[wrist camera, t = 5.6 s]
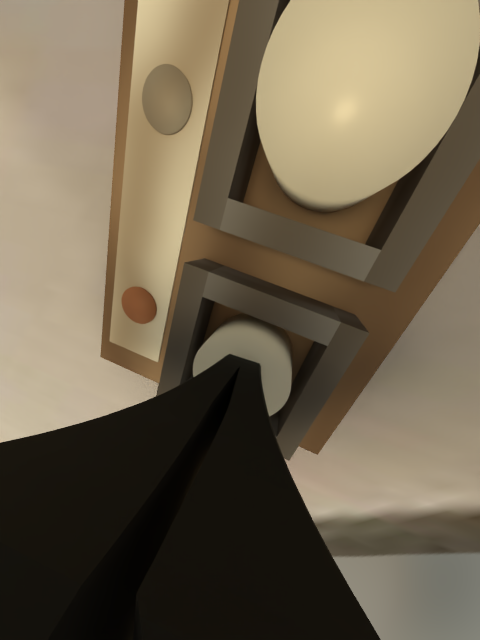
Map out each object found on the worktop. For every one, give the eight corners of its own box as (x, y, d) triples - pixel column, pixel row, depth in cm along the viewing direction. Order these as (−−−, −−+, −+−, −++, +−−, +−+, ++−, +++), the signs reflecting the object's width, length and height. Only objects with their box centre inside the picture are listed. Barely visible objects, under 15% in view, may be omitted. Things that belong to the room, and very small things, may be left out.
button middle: (448, 66, 6) (544, -42, 3) (365, 228, 7) (395, 224, 5) (299, 29, 6) (300, -90, 4) (251, 190, 8) (233, 171, 5)
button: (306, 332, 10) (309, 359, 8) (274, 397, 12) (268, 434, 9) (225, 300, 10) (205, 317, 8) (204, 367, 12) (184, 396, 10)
